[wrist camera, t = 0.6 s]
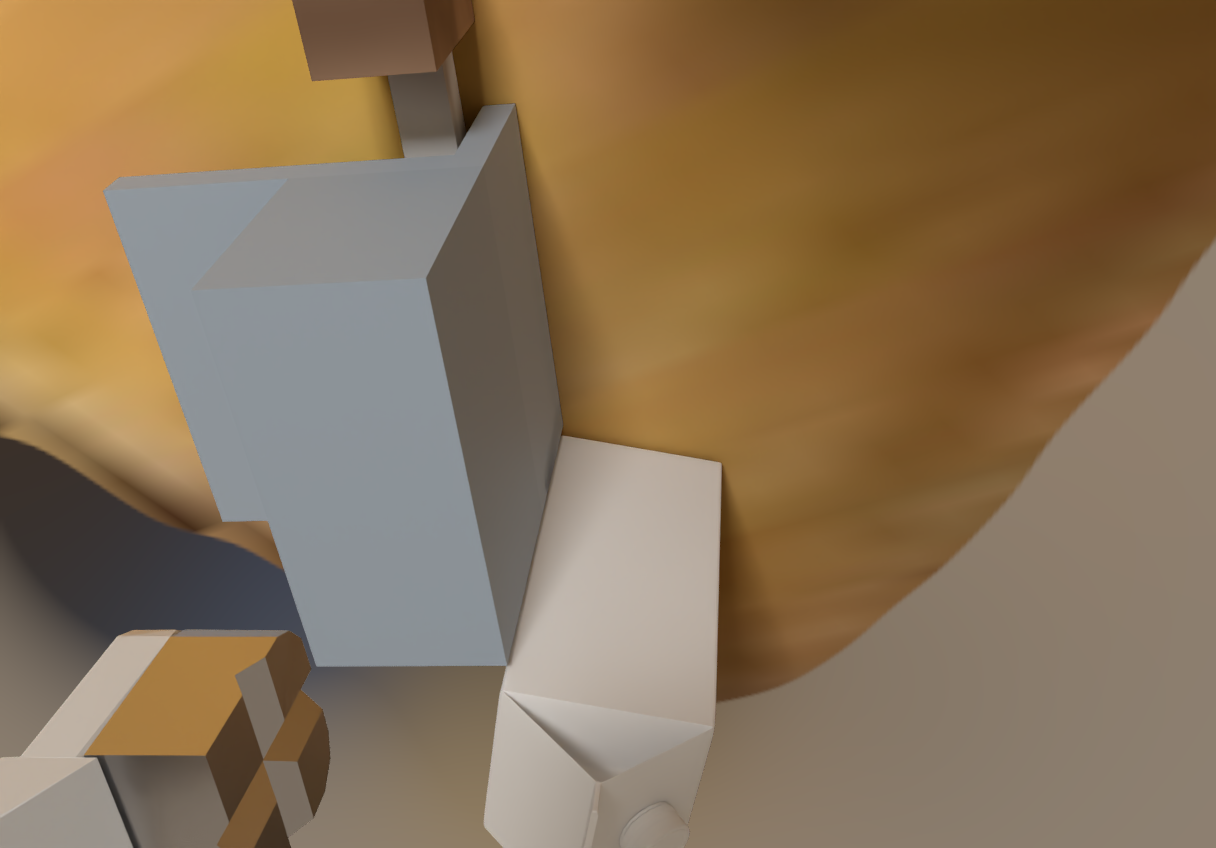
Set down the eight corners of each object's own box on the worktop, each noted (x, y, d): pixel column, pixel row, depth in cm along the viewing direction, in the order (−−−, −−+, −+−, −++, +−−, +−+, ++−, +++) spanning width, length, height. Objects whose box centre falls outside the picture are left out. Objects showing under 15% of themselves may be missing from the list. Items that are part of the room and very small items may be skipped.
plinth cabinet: (178, 128, 43) (-32, 301, 32) (515, 103, 42) (425, 278, 30) (275, 434, 51) (135, 666, 39) (563, 425, 49) (507, 665, 37)
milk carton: (542, 555, 53) (459, 929, 38) (560, 430, 49) (475, 791, 34) (693, 581, 53) (673, 966, 38) (723, 459, 49) (714, 832, 34)
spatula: (338, -92, 38) (278, -56, 34) (454, -104, 38) (410, -68, 33) (433, 348, 48) (396, 428, 43) (527, 344, 47) (501, 425, 42)
